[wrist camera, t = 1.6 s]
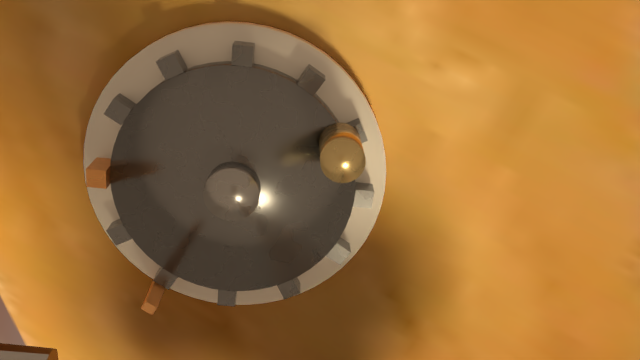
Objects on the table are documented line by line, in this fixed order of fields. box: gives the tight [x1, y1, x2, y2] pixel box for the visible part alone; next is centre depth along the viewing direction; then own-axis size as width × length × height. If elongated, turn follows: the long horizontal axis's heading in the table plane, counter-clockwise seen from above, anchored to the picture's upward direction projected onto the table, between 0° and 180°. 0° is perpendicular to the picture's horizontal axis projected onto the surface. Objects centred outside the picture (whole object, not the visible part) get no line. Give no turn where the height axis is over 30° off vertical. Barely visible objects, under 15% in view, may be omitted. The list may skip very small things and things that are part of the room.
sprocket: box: [86, 41, 374, 306], centre depth 43 cm, size 21×21×6 cm
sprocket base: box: [83, 21, 386, 315], centre depth 45 cm, size 23×23×6 cm
